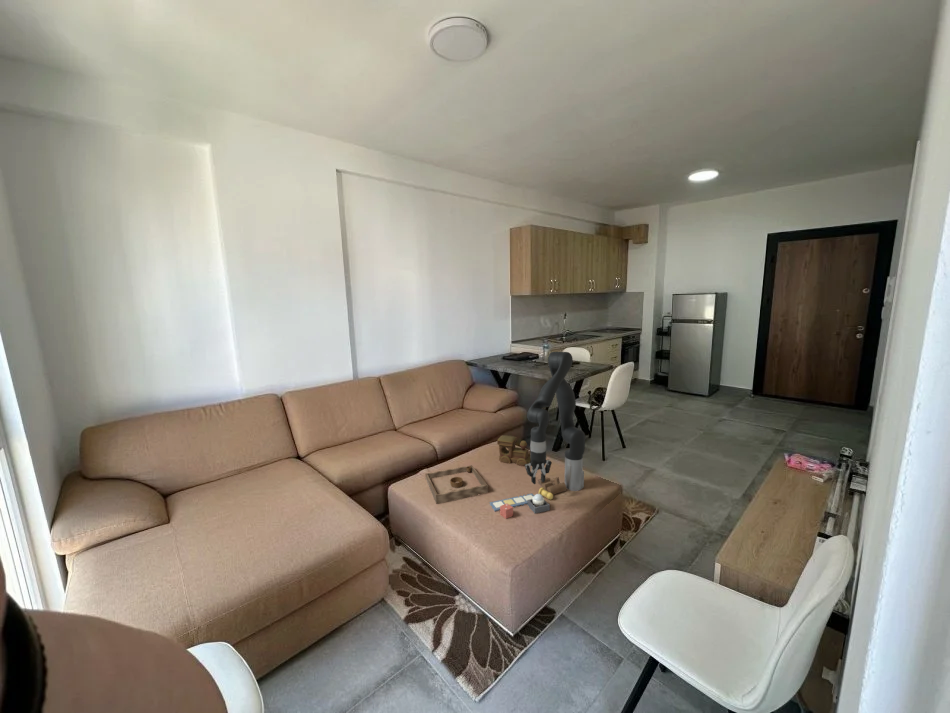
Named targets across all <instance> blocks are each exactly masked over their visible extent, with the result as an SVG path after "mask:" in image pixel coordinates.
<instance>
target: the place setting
mask: <svg viewBox="0 0 950 713" xmlns="http://www.w3.org/2000/svg"><path fill="white" fill-rule="evenodd" d="M467 466H468V467H467V473H468V474H469V473H471V472H472V471H471V467H470V466H471V465H467ZM449 481H450V482H449V483H450V486H451V487H452V488H454V489H449V490H450V491H456V490H455V488H456V489H458V488H461V487H462V486H463V485H464V479H463V478H462V477H460V476H453V477H452V478H450V480H449ZM463 489H466V488H463Z"/></svg>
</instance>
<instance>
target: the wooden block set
mask: <svg viewBox="0 0 950 713" xmlns="http://www.w3.org/2000/svg"><path fill="white" fill-rule="evenodd" d="M553 482H554V483H553ZM537 483H538V485H540V486H541V487H543V488H544V489H545V490H546V491H547V492H549V493H552V494H553V496H554V495H557V494H559V493H563V492H566V491H567V490H568V489H567V488H566V485H565V482H560V478H559V476H557V477H554V478H553V481H551V478H550V477H545V481H544V482H542V481H541V478H540V479H538V480H537Z"/></svg>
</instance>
